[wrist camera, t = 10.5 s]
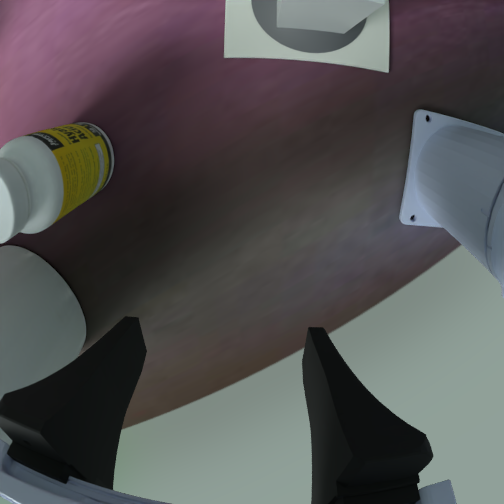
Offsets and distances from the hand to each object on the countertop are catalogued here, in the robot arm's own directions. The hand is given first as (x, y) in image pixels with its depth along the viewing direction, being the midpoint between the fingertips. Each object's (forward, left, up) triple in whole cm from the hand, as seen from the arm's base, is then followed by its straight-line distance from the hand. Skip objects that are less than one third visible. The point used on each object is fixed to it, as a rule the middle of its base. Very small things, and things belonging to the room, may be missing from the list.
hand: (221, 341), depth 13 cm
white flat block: (-4, -16, -10) cm, 19 cm away
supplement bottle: (+11, -6, -10) cm, 16 cm away
